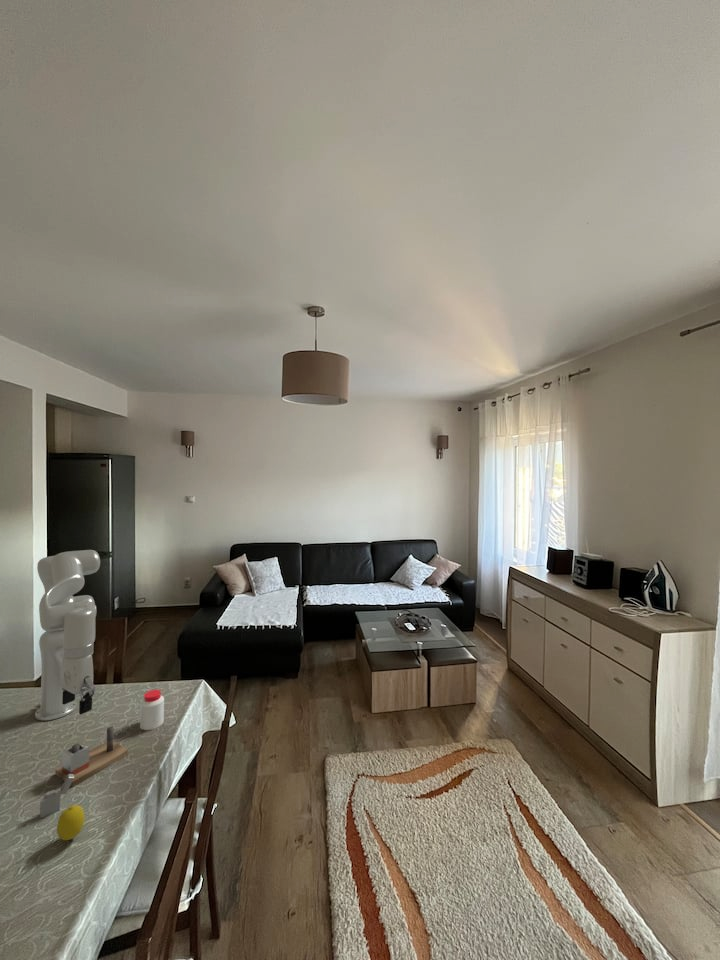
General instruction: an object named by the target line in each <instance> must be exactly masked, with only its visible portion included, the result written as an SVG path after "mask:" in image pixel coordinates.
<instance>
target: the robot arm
mask: <svg viewBox="0 0 720 960" xmlns="http://www.w3.org/2000/svg"><path fill="white" fill-rule="evenodd" d="M100 566H101V557H100V555H99V553H98V552H97V551H96V550H93V549H85V550H84V549H83V550H71V551H64V552H60V553H56V554H55V555H50V556H46V557H43V558H41V559H39V561H38V562H37V574H38V577H39V579H40V581H41V583H42V585H43V588H44V593H43V595H42V597H41V599H40V602H39V604H38V605H39V606H38V613H39V623H40V627H41V629H42V630H43V631H45V632H43V633H41V635H40V637H39V642H38V646H39V652H40V658H41V675H40V676H41V679H40V682H41V684H40V707H39V708H38V709H37V710H35V713H34V717H35V720H38V721H43V722H44V721H51V720H56V719H60V718H62V717H65V716H67V715H69V714H71V713H72V712H73V711H74V710H75V709H76V708H77V701H76V695H79V698H80V700H79V702H78V703H79V705H78V706H79V707H78V709H79V710H78V711H79V712H78V714H79V715H83V714H85V713H88V712H90V711H91V710H92V709H93V697H94V694H95V689H96V685H95V684H94V663H93V662H94V661H93V660H94V659H93V654H94V642H95V641H96V617H97V611H98V610H97V605H96V602H95V600H94V597H93V596H92V595H88V594H84V595H76V596H74V595H75V594H77V593H79V592H80V591H81V590H82V589H83V588H84V586H85V576H88V575H93V574H94V573H95V574H96V573H97V572H98V570H99V569H100ZM86 691H87V692H86ZM84 692H85V693H84Z"/></svg>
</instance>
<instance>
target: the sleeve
mask: <svg viewBox="0 0 720 960" xmlns="http://www.w3.org/2000/svg"><path fill="white" fill-rule="evenodd" d="M76 744H80V747H79V751H77V752H75V753H72V746H73V745H71V746H69V747H68V748H67V747H66V749H64V750H61V751H62V752H61V766H62V772H64V773H65V774H66V775H68V774H74V775H75V774H77V773H79V772H81V771H83V770H84V769H86V768H88V767H89V751H90V746H88V745H87V744H85V743H84V742H82V741H79V742H77V743H76Z"/></svg>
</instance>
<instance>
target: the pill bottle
mask: <svg viewBox="0 0 720 960" xmlns="http://www.w3.org/2000/svg"><path fill="white" fill-rule="evenodd" d="M143 696H144V697H143V699H142V700H141V701H140V705H139V707H140V710H139V711H140V712H139V713H140V714H139V728H140V729H141V730H144V731H152V730H155V729H157V728H159V727H161V726H162V725H163V724H164V721H165V714H164V713H165V697H164V696H163V695H162V690H159V689H152V690H149V691H146V692H145V693H144V694H143Z"/></svg>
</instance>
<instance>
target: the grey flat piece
mask: <svg viewBox="0 0 720 960" xmlns="http://www.w3.org/2000/svg"><path fill="white" fill-rule="evenodd" d="M73 779H74V774H68V776H67V778H66V780H65V781H63V784H62V786H61V788H59V790H58V791H56V789H53V790H50V791H47V792H46V793H45V795H44V796H41V797H40V801H39V802H40V804H39V805H40V808H39V812H40V813H39V819H43V818H45V817H47V816H49V815H52V814H54V813H57V812H59V811H61V795H66V794H67V792H68V791H69V789H70V787H71V786H70V785H71V783H72V781H73Z"/></svg>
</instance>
